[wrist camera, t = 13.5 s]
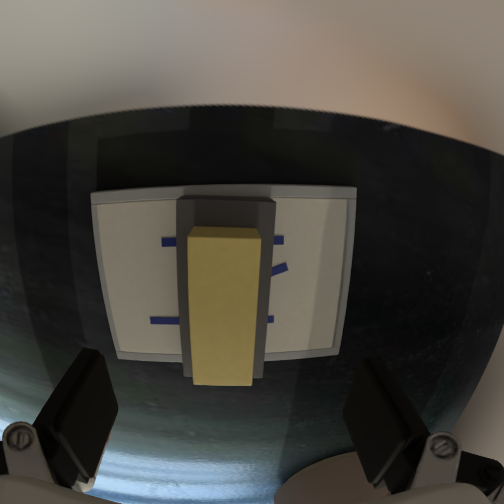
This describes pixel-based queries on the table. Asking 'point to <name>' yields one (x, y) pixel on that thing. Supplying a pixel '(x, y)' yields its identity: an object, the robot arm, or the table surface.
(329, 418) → the table surface
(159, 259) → the whiteboard
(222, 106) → the table surface
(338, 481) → the container
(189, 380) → the table surface
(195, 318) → the eraser
